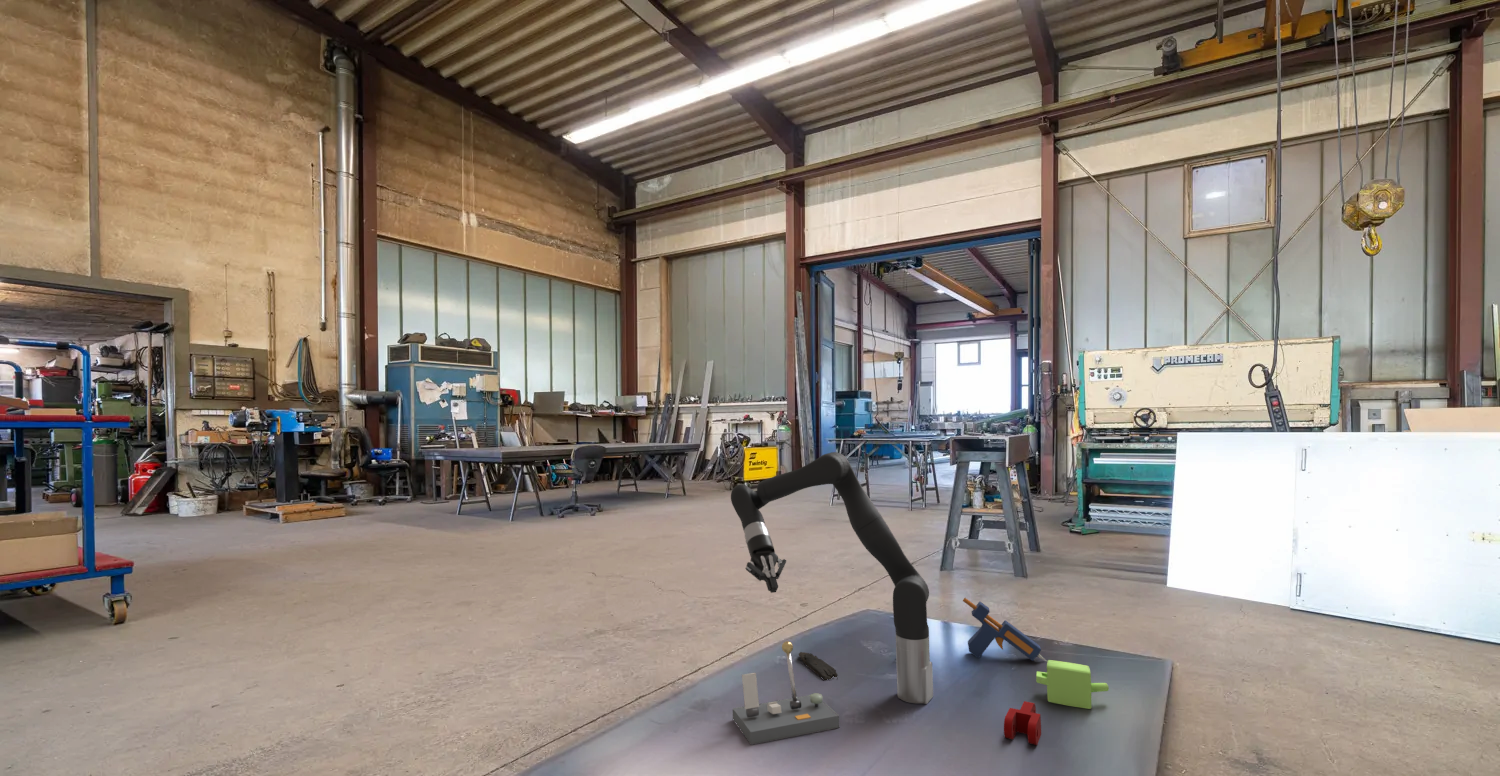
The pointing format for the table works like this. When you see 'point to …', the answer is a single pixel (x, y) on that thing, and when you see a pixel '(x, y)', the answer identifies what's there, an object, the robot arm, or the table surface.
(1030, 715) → the mechanical linkage
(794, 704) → the brass lever
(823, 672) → the wood
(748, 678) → the pale grey paddle
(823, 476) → the robot arm
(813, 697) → the push button
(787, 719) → the control panel
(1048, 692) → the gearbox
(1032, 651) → the glue gun
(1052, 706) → the table surface
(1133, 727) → the table surface
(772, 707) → the white rocker switch
